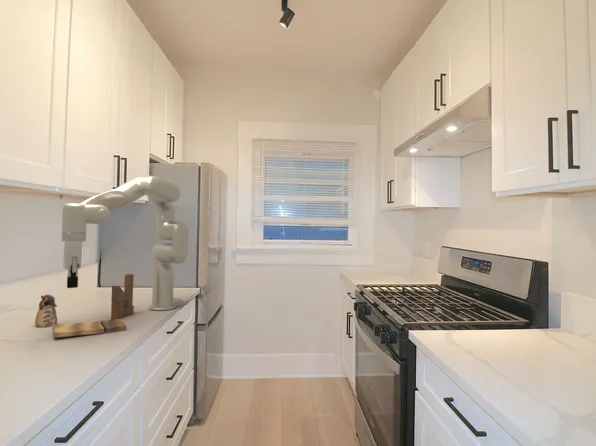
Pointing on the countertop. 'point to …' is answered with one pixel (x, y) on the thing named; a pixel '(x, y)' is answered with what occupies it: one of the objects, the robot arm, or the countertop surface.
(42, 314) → the figurine
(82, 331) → the oak plank
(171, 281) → the robot arm
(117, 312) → the wooden block stack
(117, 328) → the brown flat block
